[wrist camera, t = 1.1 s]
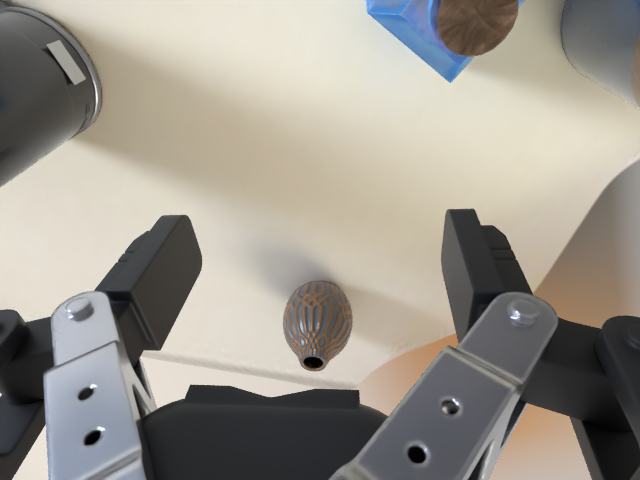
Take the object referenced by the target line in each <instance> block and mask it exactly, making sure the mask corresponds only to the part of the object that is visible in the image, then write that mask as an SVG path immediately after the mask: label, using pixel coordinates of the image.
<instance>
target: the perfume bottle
mask: <svg viewBox="0 0 640 480" xmlns="http://www.w3.org/2000/svg"><path fill="white" fill-rule="evenodd" d="M366 2H367V12H368V14H370V15H371V16H372V17H373V18H374V19H375V20H377V21H378V22H379V23H380V24H381V25H383V26H384V27H385V28H386V29H387V30H388V31H390V32H391V33H392V34H393V35H394V36H395V37H397V38H398V39H399V40H400V41H401V42H403V43H404V44H405V45H406V46H407V47H408V48H410V49H411V50H412V51H413V52H414V53H415V54H417V55H418V56H419V57H420V58H421V59H423V60H424V61H425V62H426V63H427V64H428V65H430V66H431V67H432V68H433V69H434V70H435V71H437V72H438V73H439V74H440V75H441V76H443V77H444V78H445V79H446V80H447V81H448V82H450V83H451V82H452V81H453V80H454V79H455V77H456V76H457V75H458V74H459V73H460V72H461V71H462V70H463V69H464V67H465V66H466V65H467V64H468V63H469V62H470V61H471V60H472V58H473V57H474V56H477V55H482V54H484V53H486V52H488V51H490V50H492V49H494V48H495V47H496V46H497V45H499V44H500V43H501V42H502V41H503V40H504V39H505V38H506V36H507V35H508V34H509V32H510V31H511V29H512V27H513V25H514V22H515V20H516V17H517V14H518V7H519V6H520V5H521V4H522V3H523V2H524V0H366Z"/></svg>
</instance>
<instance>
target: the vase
mask: <svg viewBox="0 0 640 480" xmlns="http://www.w3.org/2000/svg"><path fill="white" fill-rule="evenodd" d="M352 322H353V321H352V310H351V306H350V303H349V301H348V299H347V297H346V296H345V294H344V293H343V292H342V291H341V290H340V289H339V288H338V287H336V286H335V285H333V284H330V283H327V282H323V281H315V282H310V283H307V284H304V285H303V286H301V287H299V288H298V289H297V290H296V291H295V292H294V293H293V294H292V296H291V297H290V299H289V301H288V302H287V305H286V308H285V311H284V317H283V329H284V335H285V338H286V341H287V343H288V345H289V346H290V348H291V349H292V351H293V352H294V353H295V354H296V355H297V357H298V359H299V362H300V364H301V366H302V367H303V368H304V369H306V370H309V371H320V370H322V369H324V368H325V367H326V365H327V364H328V362H329V361H330V360H331V359H332V358H334V357H335V356H336V355H337V354H339V353H340V352H341V351H342V349H343V348H344V347H345V345H346V344H347V342H348V339H349V337H350V334H351V330H352Z"/></svg>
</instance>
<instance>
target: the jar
mask: <svg viewBox="0 0 640 480" xmlns="http://www.w3.org/2000/svg"><path fill="white" fill-rule="evenodd" d="M561 36H562V44H563V47H564V51H565V54H566V56H567V58H568V60H569V61H570V63H571V64H572V65H573V67H574V68H575V69H576V70H577V71H578V72H579V73H581V74H582V75H584V76H585V77H587V78H589V79H590V80H592V81H593V82H595V83H597V84H598V85H600V86H601V87H603V88H604V89H606V90H608V91H609V92H611V93H612V94H614V95H616V96H617V97H619V98H620V99H622V100H623V101H625V102H627V103H628V104H630V105H631V106H633V107H635V108H636V109H638V110H639V111H640V0H566V3H565V6H564V10H563V15H562V22H561Z"/></svg>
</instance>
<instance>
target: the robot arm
mask: <svg viewBox="0 0 640 480" xmlns="http://www.w3.org/2000/svg"><path fill="white" fill-rule="evenodd" d="M101 103H102V90H101V84H100V80H99V77H98V74H97V71H96V69H95V67H94V65H93V63H92V61H91V59H90V57H89V56H88V54H87V53H86V51H85V50H84V49H83V47H82V46H81V45H80V43H79V42H78V41H77V40H76V39H75V38H74V37H73V36H72V35H71V34H70V33H69V32H68V31H67V30H66V29H65V28H63V27H62V26H61V25H60V24H58V23H57V22H55V21H54V20H52V19H50V18H49V17H47V16H45V15H43V14H41V13H39V12H36V11H34V10H30V9H27V8H22V7H11V6H9V5H7V4H6V3H5V2H3V1H2V0H0V187H2V186H3V185H5V184H6V183H8V182H9V181H10V180H12V179H13V178H15V177H16V176H17V175H19V174H20V173H22V172H23V171H25V170H26V169H27V168H29V167H30V166H32V165H33V164H34V163H36V162H37V161H39V160H40V159H42V158H43V157H44V156H46V155H47V154H49V153H50V152H52V151H53V150H54V149H56V148H57V147H59V146H60V145H61V144H63V143H64V142H66V141H67V140H69V139H70V138H72V137H74V136H75V135H77V134H79V133H80V132H82V131H84V130H85V129H86V128H88V127H89V126H90V125H91V124H92V123H93V122H94V121H95V120H96V118H97V116H98V114H99V112H100V108H101ZM441 263H442V272H443V276H444V281H445V285H446V290H447V294H448V299H449V303H450V307H451V312H452V316H453V321H454V325H455V329H456V334H457V338H458V343H459V345H458V346H457V347H456V348H453V347H451V346H447V347H445V348H444V349H443V350H442V351H441V352H440V353H439V355H438V356H437V357H436V358H435V359H434V361H433V362H432V363H431V364H430V366H429V367H428V368H427V369H426V371H425V372H424V373H423V374H422V376H421V377H420V378H419V379H418V380H417V382H416V383H415V384H414V385H413V387H412V388H411V389H410V390H409V392H408V393H407V394H406V395H405V397H404V398H403V399H402V400H401V402H400V403H399V404H398V405H397V406H396V408H395V409H394V410H393V411H392V413H391V414H390V415H389V416H387V415H385V414H383V413H381V412H380V411H378V410H375V409H373V408H371V407H368V406H365V405H362V404H360V400H359V399H360V398H359V390H338V389H313V390H307V391H303V392H297V393H292V394H287V395H282V396H277V397H265V396H262V395H258V394H255V393H252V392H248V391H245V390H242V389H238V388H235V387H232V386H214V385H213V386H212V385H190V387H189V390H188V392H187V394H186V397H185V399H181V400H178V401H175V402H172V403H169V404H167V405H165V406H162V407H160V408H158V409H157V406H156V404H155V400H154V397H153V394H152V391H151V387H150V384H149V381H148V378H147V375H146V372H145V368H144V365H143V363H142V361H141V359H140V356H141V354H142V352H143V351H144V350H158V351H160V350H161V348H162V346H163V344H164V342H165V340H166V338H167V336H168V334H169V332H170V330H171V328H172V326H173V325H174V323H175V321H176V319H177V317H178V315H179V313H180V311H181V309H182V307H183V305H184V303H185V301H186V299H187V297H188V295H189V293H190V291H191V289H192V287H193V285H194V283H195V281H196V279H197V277H198V276H199V274H200V271H201V268H202V255H201V251H200V248H199V245H198V242H197V239H196V236H195V233H194V230H193V227H192V223H191V221H190V219H189V217H188V216H187V215H164V216H161V217H160V218H159V220H158V221H157V222H156V224H155V225H154V226H153V227H152V229H151V230H150V231H147V232H145V233H144V234H142V235H141V236H139V237H138V238H137V239H135V240H134V241H133V242H132V243H131V245H130V246H129V247H128V248H127V250H126V251H125V254H123V255H122V256H121V257H120V259H119V260H118V263H116V264H115V265H114V266H113V267H112V269H111V270H110V271H109V273H108V274H107V275H106V276H105V278H104V279H103V280H102V281H101V283H100V284H99V285H98V286H97V288H96V289H95V290H94V291H90V292H84V293H81V294H78V295H76V296H73V297H71V298H69V299H68V300H66V301H65V302H63V303H62V304H61V305H59V306H58V307H57V308H56V310H55V311H54V312H53V314H52V316H51V317H47V318H43V319H39V320H34V321H30V322H25V321H24V320H23V319H22V317H21V316H20V315H19V313H18V312H17V311H15V310H0V393H1V394H2V396H1V397H0V480H12V478H13V477H14V475H15V474H16V472H17V470H18V469H19V467H20V465H21V464H22V462H23V460H24V459H25V457H26V455H27V454H28V452H29V451H30V449H31V447H32V446H33V444H34V442H35V441H36V439H37V437H38V436H39V434H40V433H41V431H42V429H43V428H44V426H45V424H46V438H47V457H48V476H49V480H488V479H489V478H490V475H491V473H492V471H493V469H494V466H495V464H496V462H497V460H498V458H499V456H500V454H501V452H502V450H503V449H504V447H505V445H506V443H507V442H508V440H509V438H510V436H511V434H512V432H513V431H514V429H515V427H516V425H517V423H518V422H519V420H520V418H521V416H522V414H523V412H524V411H525V409H526V407H527V405H528V404H532V405H535V406H538V407H542V408H545V409H548V410H551V411H555V412H557V413H561V414H564V415H567V416H570V419H571V422H572V425H573V428H574V430H575V433H576V436H577V439H578V442H579V444H580V447H581V450H582V453H583V456H584V458H585V461H586V464H587V467H588V469H589V472H590V475H591V478H592V480H640V318H639V317H634V316H616V317H612V318H610V319H608V320H607V321H606V322H605V323H604V324H603V326H602V329H599V328H595V327H590V326H587V325H582V324H577V323H574V322H570V321H567V320H564V319H561V318H559V317H558V316H557V314H556V312H555V310H554V309H553V308H552V307H551V306H550V305H549V304H548V303H547V302H545V301H544V300H542V299H541V298H538V297H537V296H534V295H533V293H532V291H531V289H530V287H529V285H528V283H527V280H526V278H525V276H524V274H523V272H522V270H521V268H520V266H519V263H518V261H517V260H516V257H515V255H514V253H513V251H512V250H511V246H510V244H509V242H508V240H507V238H506V236H505V235H504V234H503V233H502V232H500V231H499V230H498V229H497V228H496V227H494V226H493V225H484V226H481V225H480V222H479V220H478V217H477V215H476V212H475V210H474V209H448V210H447V211H446V216H445V225H444V234H443V243H442V253H441Z"/></svg>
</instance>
